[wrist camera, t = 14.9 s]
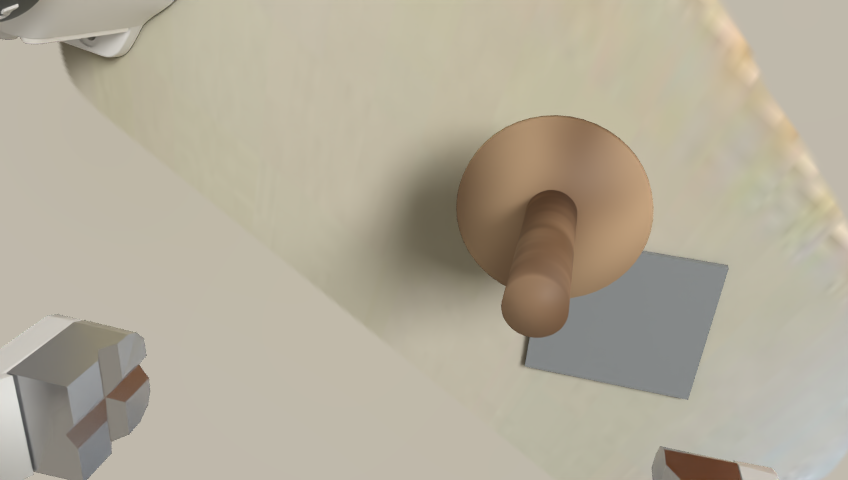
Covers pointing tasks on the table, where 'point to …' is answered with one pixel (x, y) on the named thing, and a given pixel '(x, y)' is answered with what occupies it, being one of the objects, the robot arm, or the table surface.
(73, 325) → the robot arm
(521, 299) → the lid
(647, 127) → the table surface
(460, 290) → the table surface
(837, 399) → the table surface
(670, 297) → the mat
